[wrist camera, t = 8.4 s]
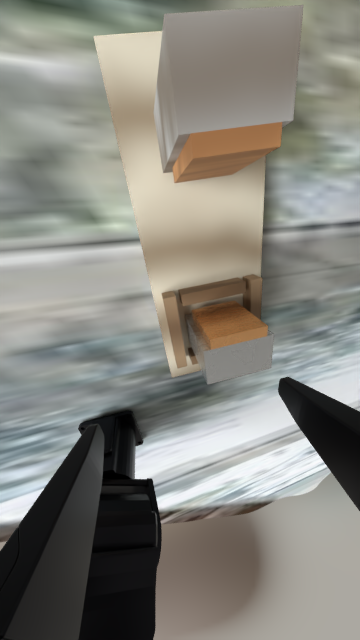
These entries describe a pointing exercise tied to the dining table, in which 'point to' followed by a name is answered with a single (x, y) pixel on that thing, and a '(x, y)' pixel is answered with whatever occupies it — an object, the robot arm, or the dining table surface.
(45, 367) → the dining table surface
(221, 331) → the white wood-topped block
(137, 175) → the cream wooden stand
